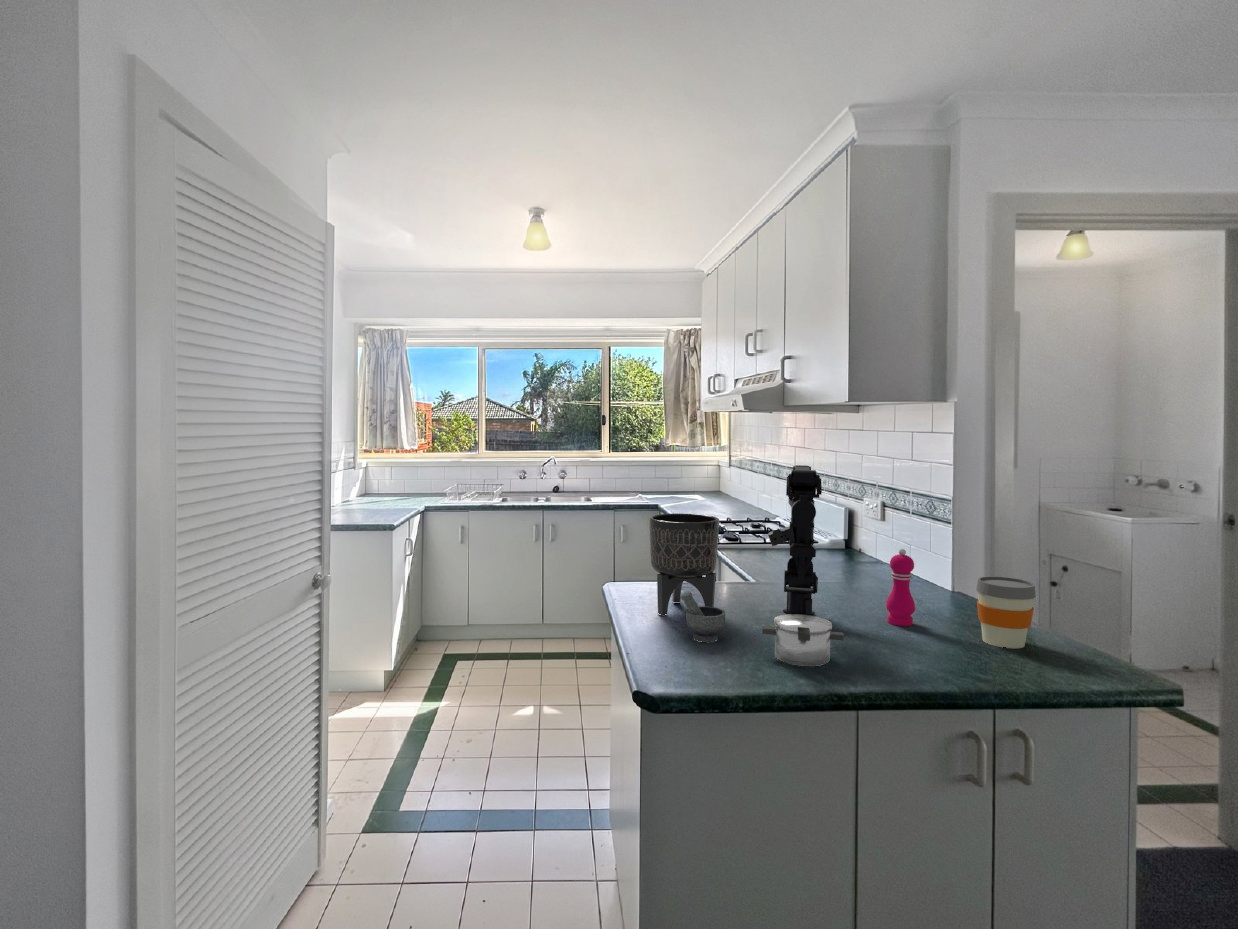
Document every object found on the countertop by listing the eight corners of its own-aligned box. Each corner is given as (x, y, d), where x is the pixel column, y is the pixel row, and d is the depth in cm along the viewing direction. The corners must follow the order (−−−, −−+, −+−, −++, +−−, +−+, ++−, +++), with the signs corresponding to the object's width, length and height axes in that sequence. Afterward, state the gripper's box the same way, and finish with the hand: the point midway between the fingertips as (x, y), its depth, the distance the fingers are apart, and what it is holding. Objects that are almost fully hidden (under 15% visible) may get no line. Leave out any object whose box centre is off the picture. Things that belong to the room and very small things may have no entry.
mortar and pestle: (717, 632, 168) (718, 585, 168) (731, 644, 159) (732, 595, 159) (675, 634, 166) (675, 587, 166) (685, 646, 157) (686, 596, 156)
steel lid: (774, 617, 158) (774, 611, 158) (830, 621, 155) (830, 615, 155) (773, 637, 141) (773, 631, 141) (835, 643, 138) (835, 636, 138)
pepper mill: (917, 627, 174) (920, 552, 173) (888, 625, 175) (890, 550, 174) (911, 620, 181) (913, 547, 180) (883, 618, 182) (885, 545, 181)
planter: (724, 605, 194) (726, 515, 192) (708, 624, 175) (710, 524, 174) (660, 598, 201) (661, 511, 199) (638, 615, 183) (639, 520, 181)
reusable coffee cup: (962, 637, 166) (964, 578, 165) (997, 632, 171) (999, 574, 170) (1009, 653, 154) (1012, 590, 154) (1045, 647, 159) (1048, 585, 158)
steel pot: (762, 645, 158) (763, 616, 158) (840, 652, 154) (841, 622, 154) (761, 663, 147) (761, 631, 146) (845, 670, 142) (846, 638, 142)
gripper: (771, 512, 182) (769, 569, 183) (769, 521, 164) (768, 584, 165) (813, 514, 180) (811, 571, 181) (816, 523, 162) (814, 587, 162)
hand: (800, 578), depth 172 cm, fingers closed
